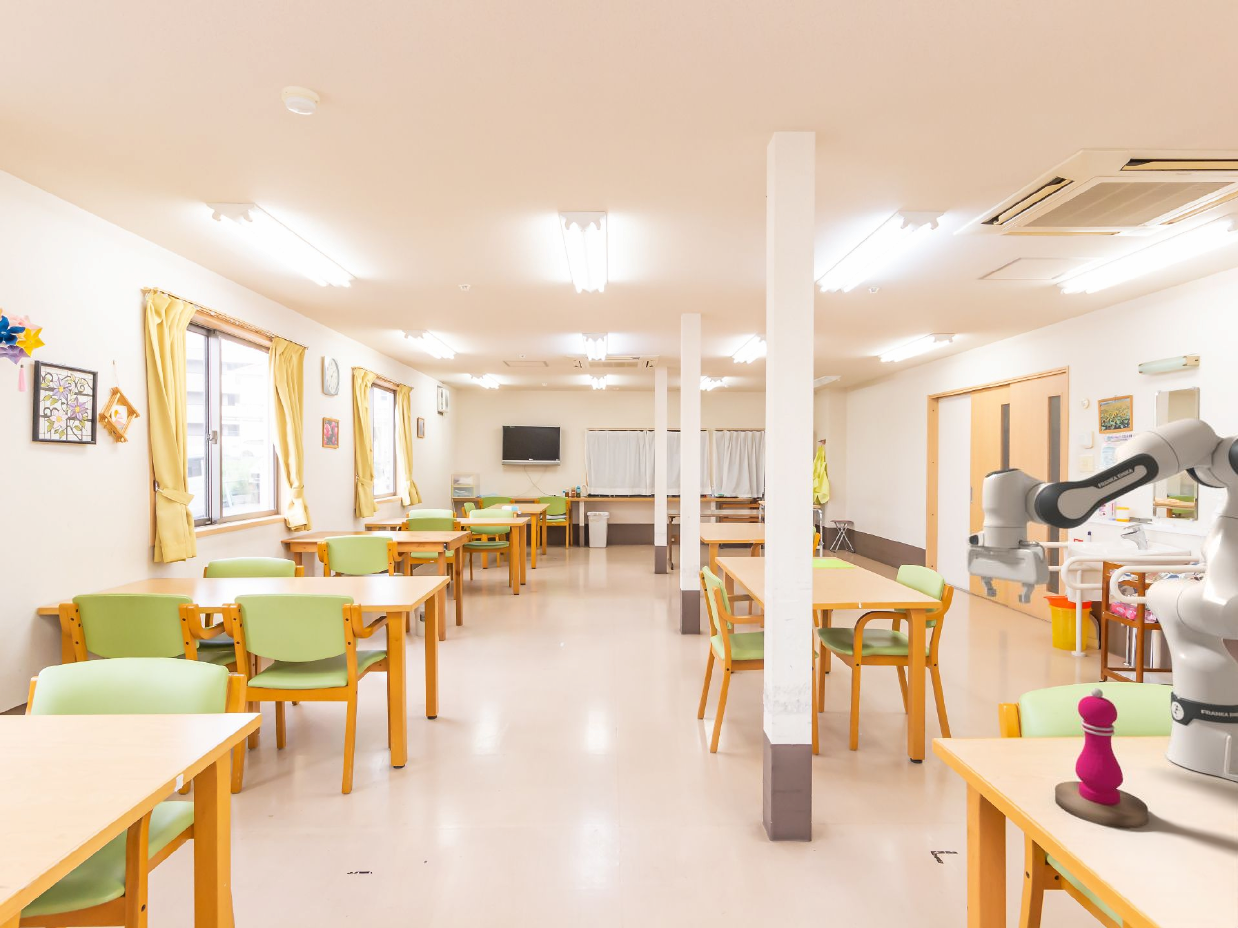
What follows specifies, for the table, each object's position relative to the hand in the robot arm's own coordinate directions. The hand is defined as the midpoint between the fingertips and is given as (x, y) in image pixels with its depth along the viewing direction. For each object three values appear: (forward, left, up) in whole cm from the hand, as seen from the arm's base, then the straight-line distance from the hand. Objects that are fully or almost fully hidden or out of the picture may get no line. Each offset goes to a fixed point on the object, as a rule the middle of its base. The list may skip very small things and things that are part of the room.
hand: (1007, 599), depth 156 cm
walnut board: (-3, +29, -34) cm, 45 cm away
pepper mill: (-3, +29, -32) cm, 43 cm away
